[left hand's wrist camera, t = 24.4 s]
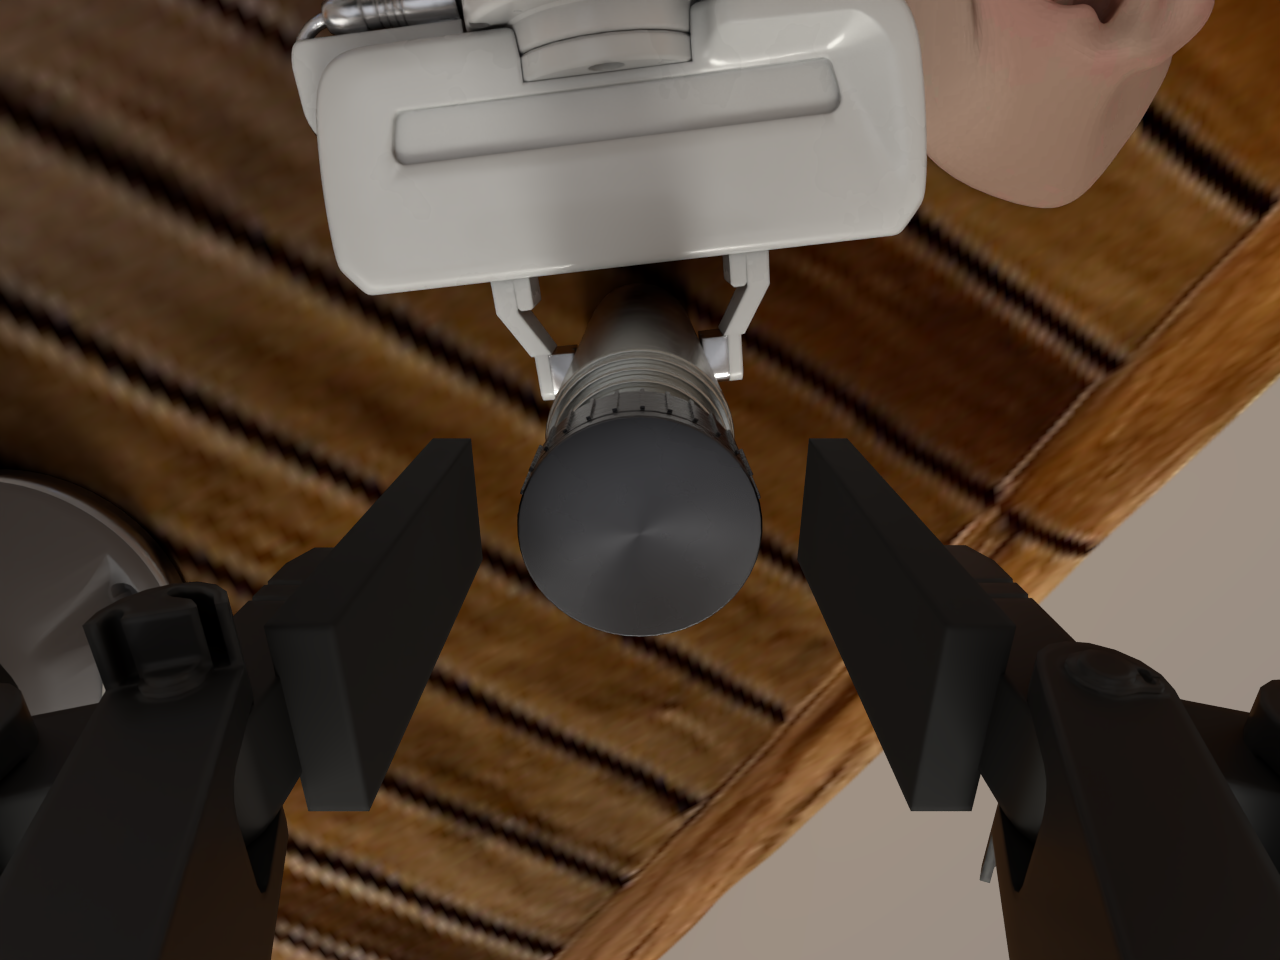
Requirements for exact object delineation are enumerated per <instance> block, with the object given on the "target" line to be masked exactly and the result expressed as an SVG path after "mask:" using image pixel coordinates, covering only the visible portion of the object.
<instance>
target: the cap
mask: <svg viewBox="0 0 1280 960" xmlns="http://www.w3.org/2000/svg"><path fill="white" fill-rule="evenodd" d="M752 475H753V473H752V471H751V468H750V466H749V464H748V461H747V459H746V457H745V454H744V452H743V450H742V449H740V450H739V449H738V447H737V445H736V442H735V440H734V437H733V435H732V432H731V431H730V430H729V429H728V430H727V431H726V430H725V428H724V427H723V426H722V425H721V424H720V423H719V422H718V421H717V420H716V418H715V415H714V414H713V413H712V412H711V413H710V414H709V413H707V412H706V411H704V410H703V409H701V408H699V407H698V406H696V405H694V401H692V400H689V402H688V401H686V400H684V399H681V398H678V397H675V396H672V395H670V392H667V391H666V392H665V394H663V393H658V392H649V391H645V390H644V388H640V391H631V392H621V393H619V390H617V391H615V392H614V394H612V395H608V396H605V397H602V398H599V399H596V400H595V398H592V399H590V403H588V404H586V405H584V406H582V407H580V408H579V409H577V410H576V411H573V410H571V411H569V413H568V416H567V417H566V418H565V419H564V420H563V421H562V422H561V423H560V424H559V425H558V426H557V427H555V426H553V427H552V428H551V430H550V433H549V435H548V438H547V440H546V442H545V443H544V445H543V446H541V445H540V446H539V447H538V450H537V452H536V454H535V457H534V459H533V461H532V464H531V466H530V468H529V473H528V475H527V477H526V480H525V482H524V484H523V487H522V489H521V492H520V494H522V498H521V501H520V505H519V512H518V519H517V526H518V540H519V546H520V550H521V554H522V557H523V560H524V563H525V565H526V567H527V569H528V571H529V574H530V576H531V577H532V579H533V580H534V582H535V583H536V585H537V586H538V588H539V589H540V590H541V591H542V593H543V594H544V595H545V596H546V597H547V599H549V600H550V601H551V602H552V603H553V604H554V605H555V606H556V607H557V608H558V609H560V610H561V611H563V612H564V613H565V614H567V615H568V616H570V617H571V618H573V619H575V620H577V621H579V622H580V623H582V624H584V625H587V626H589V627H592V628H594V629H597V630H600V631H604V632H608V633H611V634H618V635H624V636H640V637H642V636H657V635H662V634H668V633H672V632H676V631H679V630H683V629H686V628H688V627H690V626H693V625H695V624H697V623H700V622H701V621H703V620H705V619H707V618H708V617H710V616H712V615H713V614H714V613H716V612H717V611H719V610H720V609H721V608H723V607H724V606H725V605H726V604H727V603H728V602H729V601H730V600H731V599H732V598H733V597H734V596H735V595H736V594H737V592H738V591H739V590H740V589H741V587H742V586H743V585H744V583H745V582H746V580H747V578H748V577H749V575H750V573H751V571H752V569H753V567H754V564H755V562H756V560H757V556H758V553H759V549H760V545H761V538H762V513H761V507H760V502H759V499H760V494H759V492H758V489H757V487H756V484H755V482H754V480H753V477H752Z"/></svg>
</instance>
